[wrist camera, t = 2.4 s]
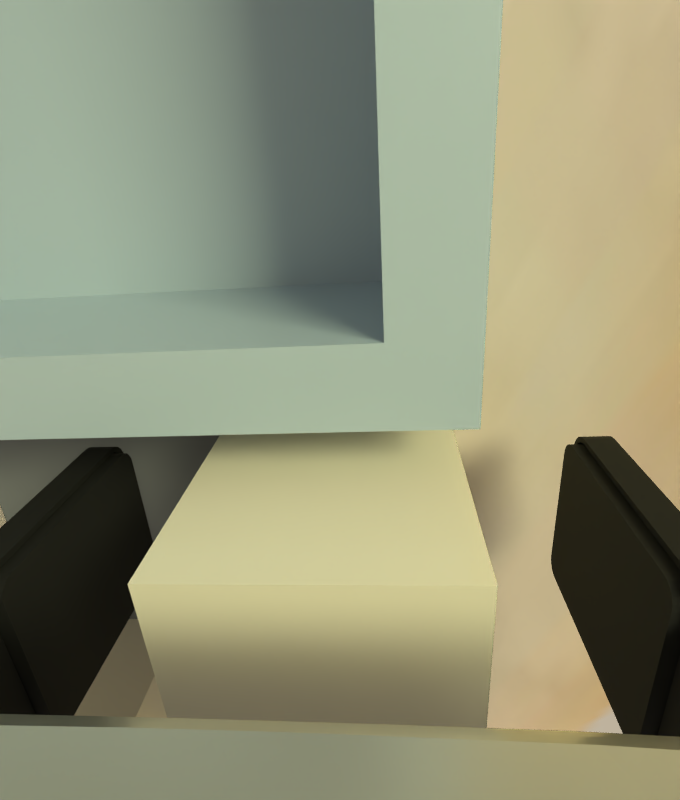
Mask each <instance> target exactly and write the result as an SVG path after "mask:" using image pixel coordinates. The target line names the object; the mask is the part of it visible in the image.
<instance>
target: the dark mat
mask: <svg viewBox="0 0 680 800" xmlns="http://www.w3.org/2000/svg"><path fill="white" fill-rule="evenodd" d="M219 436H220V435H200V436H156V437H112V438H68V439H24V440H0V506H1V508H2V511H3V513H4V516H5V518H6V521H9V520H10V519H11V518H12V517H13V516H14V515H15V514H16V513H17V512H18V511H19V510H21V509H22V508H23V507H24V506H25V505H26V504H27V503H28V502H29V501H30V500H31V499H32V498H34V497H35V496H36V495H37V494H38V493H39V492H40V491H41V490H42V489H43V488H44V487H46V486H47V485H48V484H49V483H50V482H51V481H52V480H53V479H54V478H55V477H56V476H58V475H59V474H60V473H61V472H62V471H63V470H64V469H65V468H66V467H67V466H68V465H70V464H71V463H72V462H73V461H74V460H75V459H76V458H77V457H78V456H79V455H80V454H81V453H83V452H84V451H85V450H86V449H88V448H89V447H119V448H121V450H122V451H123V453H127V454H129V456H130V457H131V459H132V463H133V466H134V470H135V474H136V478H137V482H138V486H139V490H140V494H141V497H142V501H143V505H144V509H145V513H146V517H147V521H148V525H149V529H150V532H151V536H152V540H153V542H154V541H155V539H156V537H157V536H158V534H159V533H160V531H161V529H162V528H163V526H164V525H165V523H166V521H167V520H168V518H169V517H170V515H171V513H172V512H173V510H174V508H175V507H176V505H177V504H178V502H179V500H180V499H181V497H182V496H183V494H184V492H185V491H186V489H187V488H188V486H189V484H190V483H191V481H192V479H193V478H194V476H195V475H196V473H197V471H198V470H199V468H200V467H201V465H202V463H203V462H204V460H205V459H206V457H207V455H208V454H209V452H210V450H211V449H212V447H213V446H214V444H215V442H216V441H217V439H218V438H219ZM129 619H138V618H137V614H136V611H135V609H134V611H133V613H132V615H131V616H130V618H129Z"/></svg>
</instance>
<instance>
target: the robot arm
mask: <svg viewBox="0 0 680 800" xmlns="http://www.w3.org/2000/svg"><path fill="white" fill-rule="evenodd" d="M152 544H153V540H152V536H151V532H150V529H149V525H148V521H147V517H146V513H145V509H144V505H143V501H142V497H141V494H140V490H139V486H138V482H137V478H136V474H135V470H134V466H133V463H132V459H131V457H130V456H129V454H127V453H123V451H122V450H121V448H119V447H89V448H88V449H86V450H85V451H84V452H83V453H81V454H80V455H79V456H78V457H77V458H76V459H75V460H74V461H73V462H72V463H71V464H70V465H68V466H67V467H66V468H65V469H64V470H63V471H62V472H61V473H60V474H59V475H58V476H56V477H55V478H54V479H53V480H52V481H51V482H50V483H49V484H48V485H47V486H46V487H44V488H43V489H42V490H41V491H40V492H39V493H38V494H37V495H36V496H35V497H34V498H32V499H31V500H30V501H29V502H28V503H27V504H26V505H25V506H24V507H23V508H22V509H21V510H19V511H18V512H17V513H16V514H15V515H14V516H13V517H12V518H11V519H10V520H9V521H7V522H6V523H5V524H4V525H3V526H2V527H1V528H0V800H680V511H679V510H678V509H677V508H676V507H675V506H674V505H673V504H672V502H671V501H670V500H669V499H668V498H667V497H666V496H665V495H664V494H663V492H662V491H661V490H660V489H659V488H658V487H657V486H656V485H655V484H654V482H653V481H652V480H651V479H650V478H649V477H648V476H647V475H646V474H645V472H644V471H643V470H642V469H641V468H640V467H639V466H638V465H637V464H636V462H635V461H634V460H633V459H632V458H631V457H630V456H629V455H628V454H627V452H626V451H625V450H624V449H623V448H622V447H621V446H620V445H619V444H618V442H617V441H616V440H615V439H614V438H612V437H611V436H599V437H578V438H577V439H576V441H575V444H572V445H567V446H566V449H565V453H564V461H563V469H562V476H561V484H560V492H559V500H558V508H557V516H556V523H555V531H554V539H553V547H552V555H551V564H552V570H553V574H554V577H555V579H556V582H557V584H558V586H559V588H560V591H561V593H562V595H563V598H564V600H565V602H566V604H567V607H568V609H569V611H570V614H571V616H572V618H573V620H574V623H575V625H576V627H577V630H578V632H579V634H580V636H581V639H582V641H583V643H584V645H585V648H586V650H587V652H588V655H589V657H590V659H591V661H592V664H593V666H594V668H595V671H596V673H597V675H598V677H599V680H600V682H601V684H602V687H603V689H604V691H605V693H606V696H607V698H608V700H609V703H610V705H611V707H612V709H613V712H614V714H615V716H616V719H617V721H618V723H619V725H620V727H621V730H622V732H623V734H617V733H598V732H580V731H558V730H530V729H501V728H473V727H445V726H417V725H389V724H358V723H325V722H293V721H259V720H224V719H189V718H152V717H110V716H74V714H75V713H76V711H77V709H78V707H79V706H80V704H81V702H82V700H83V699H84V697H85V695H86V693H87V692H88V690H89V688H90V686H91V685H92V683H93V681H94V679H95V678H96V676H97V674H98V672H99V671H100V669H101V667H102V665H103V664H104V662H105V660H106V658H107V657H108V655H109V653H110V651H111V650H112V648H113V646H114V644H115V643H116V641H117V639H118V637H119V636H120V634H121V632H122V630H123V629H124V627H125V625H126V623H127V622H128V620H129V618H130V616H131V615H132V613H133V611H134V609H135V608H134V604H133V601H132V598H131V594H130V591H129V588H128V583H129V581H130V579H131V578H132V576H133V575H134V573H135V571H136V570H137V568H138V566H139V565H140V563H141V562H142V560H143V558H144V557H145V555H146V554H147V552H148V550H149V549H150V547H151V546H152Z"/></svg>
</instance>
